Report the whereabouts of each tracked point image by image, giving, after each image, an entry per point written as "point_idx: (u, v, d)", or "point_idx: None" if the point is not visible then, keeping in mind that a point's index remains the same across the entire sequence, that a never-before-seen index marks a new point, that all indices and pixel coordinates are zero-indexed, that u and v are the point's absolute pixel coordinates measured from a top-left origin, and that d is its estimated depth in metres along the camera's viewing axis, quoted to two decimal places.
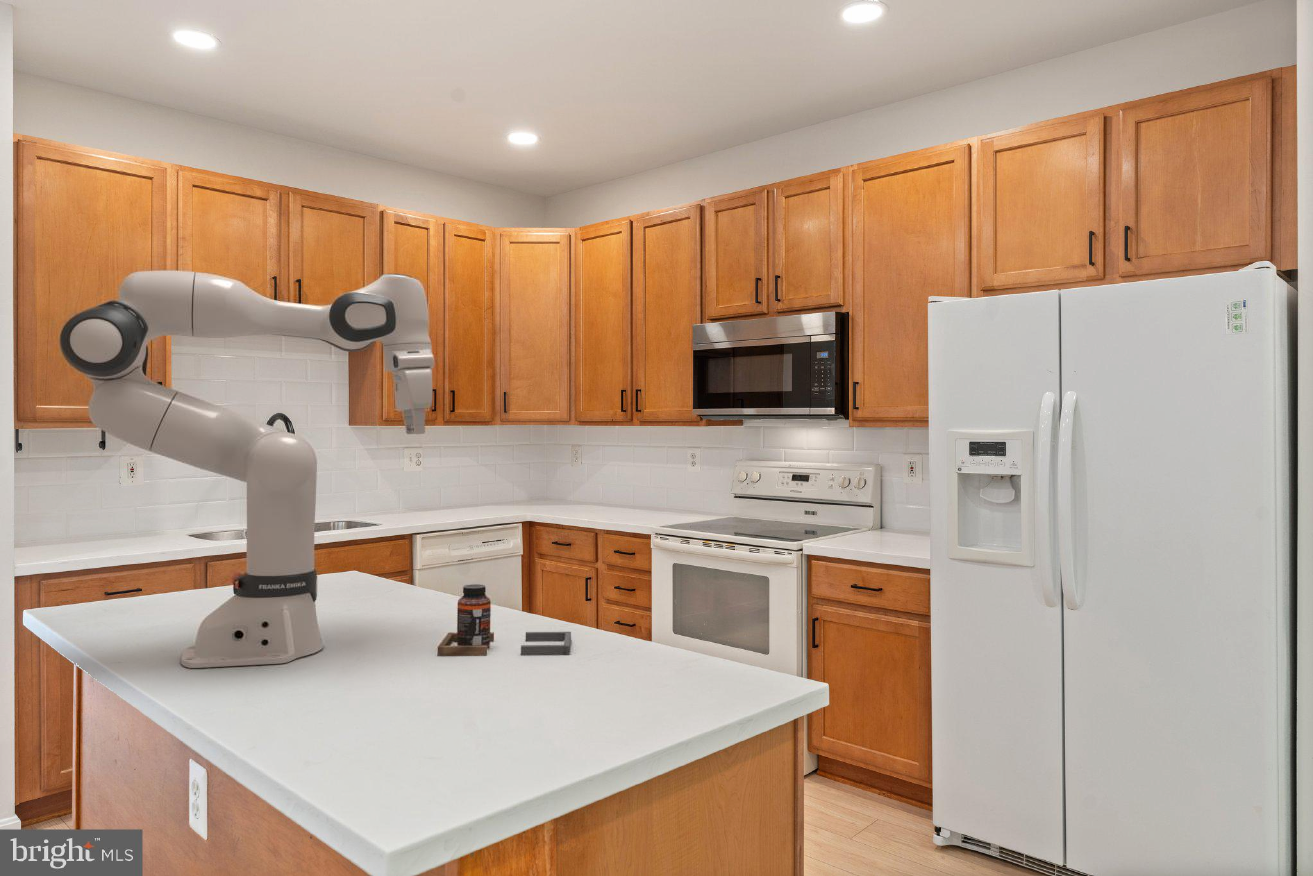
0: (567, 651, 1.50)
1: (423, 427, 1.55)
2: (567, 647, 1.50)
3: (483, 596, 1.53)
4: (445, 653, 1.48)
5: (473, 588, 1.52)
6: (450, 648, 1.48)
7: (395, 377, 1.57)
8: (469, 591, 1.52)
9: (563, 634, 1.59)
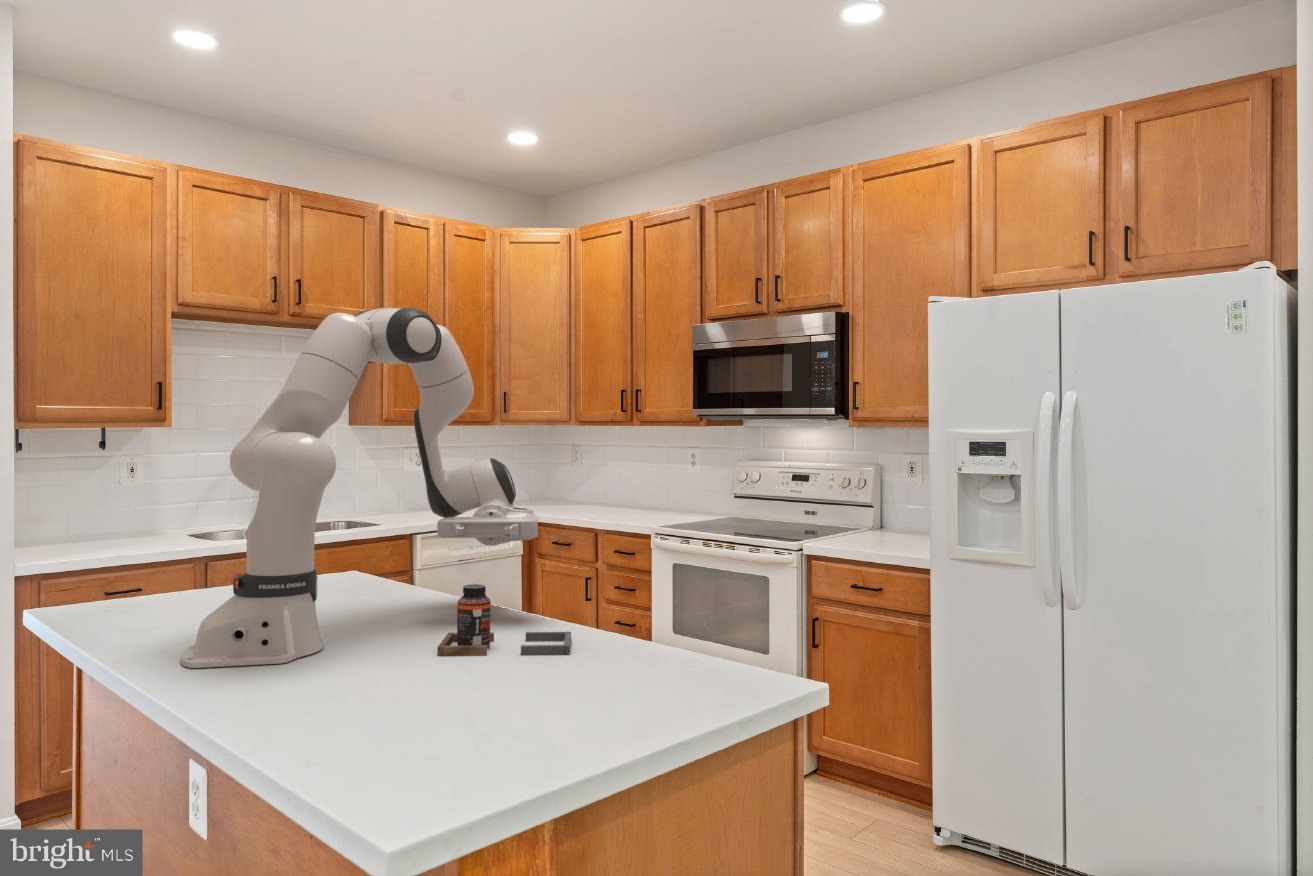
0: (567, 651, 1.50)
1: (512, 534, 1.67)
2: (567, 647, 1.50)
3: (483, 596, 1.53)
4: (445, 653, 1.48)
5: (473, 588, 1.52)
6: (450, 648, 1.48)
7: (496, 511, 1.77)
8: (469, 591, 1.52)
9: (563, 634, 1.59)
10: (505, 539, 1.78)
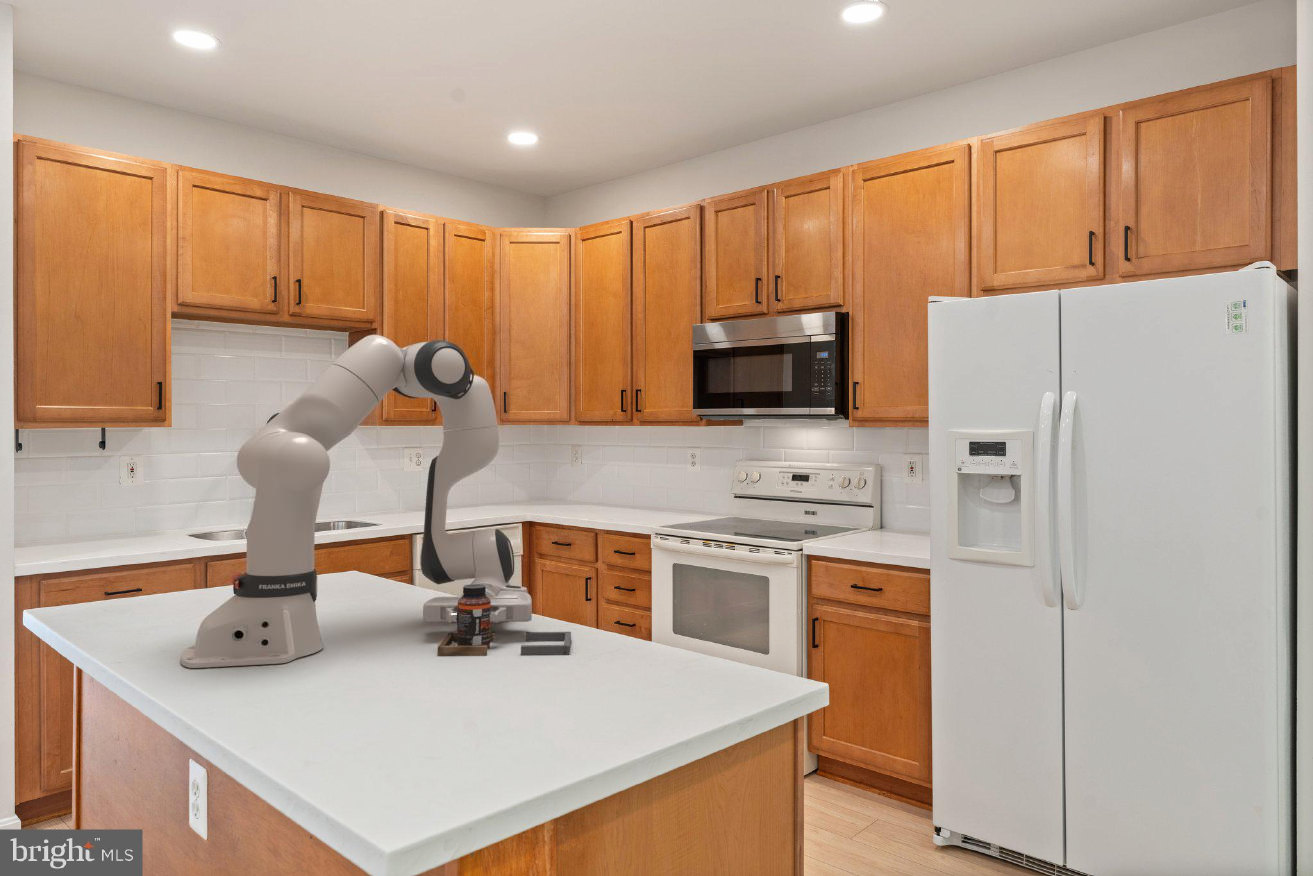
0: (567, 651, 1.50)
1: (498, 620, 1.54)
2: (567, 647, 1.50)
3: (483, 596, 1.53)
4: (445, 653, 1.48)
5: (473, 588, 1.52)
6: (450, 648, 1.48)
7: (488, 591, 1.64)
8: (469, 591, 1.52)
9: (563, 634, 1.59)
10: None
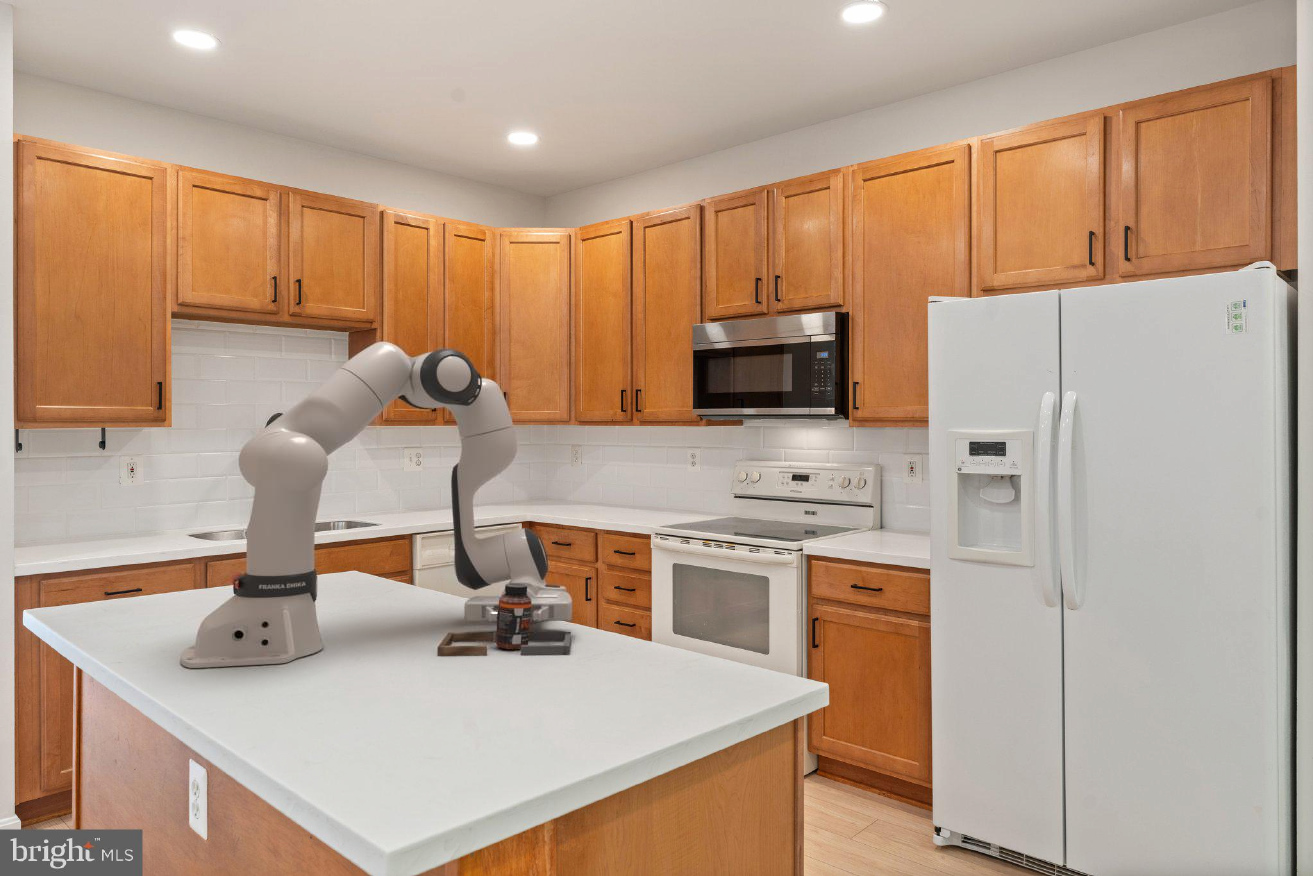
0: (567, 651, 1.50)
1: (541, 619, 1.55)
2: (567, 647, 1.50)
3: (525, 595, 1.53)
4: (445, 653, 1.48)
5: (516, 586, 1.52)
6: (450, 648, 1.48)
7: (527, 590, 1.64)
8: (511, 590, 1.52)
9: (563, 634, 1.59)
10: None
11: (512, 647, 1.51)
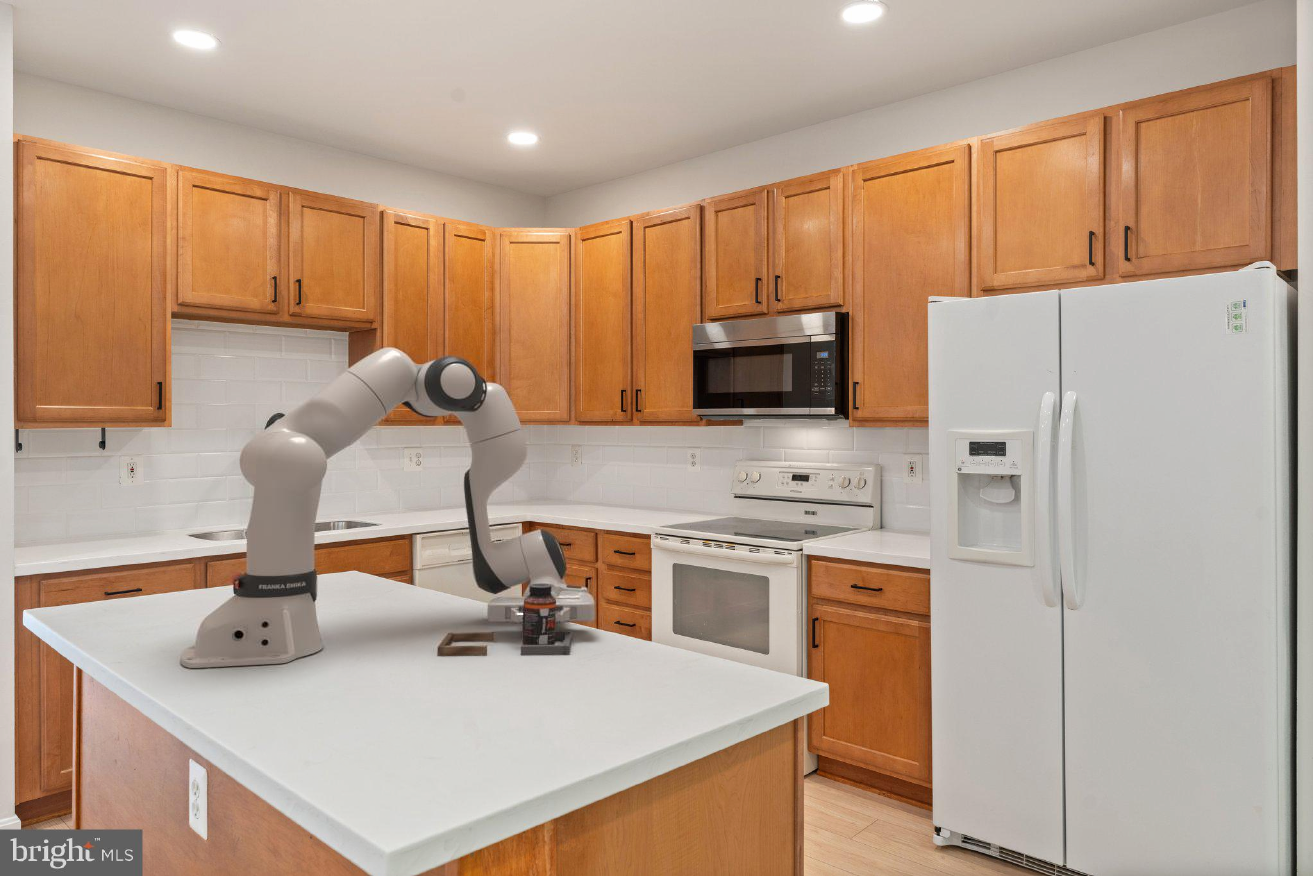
0: (567, 651, 1.50)
1: (563, 620, 1.55)
2: (567, 647, 1.50)
3: (549, 595, 1.54)
4: (445, 653, 1.48)
5: (540, 587, 1.53)
6: (450, 648, 1.48)
7: None
8: (536, 590, 1.53)
9: (563, 634, 1.59)
10: None
11: None
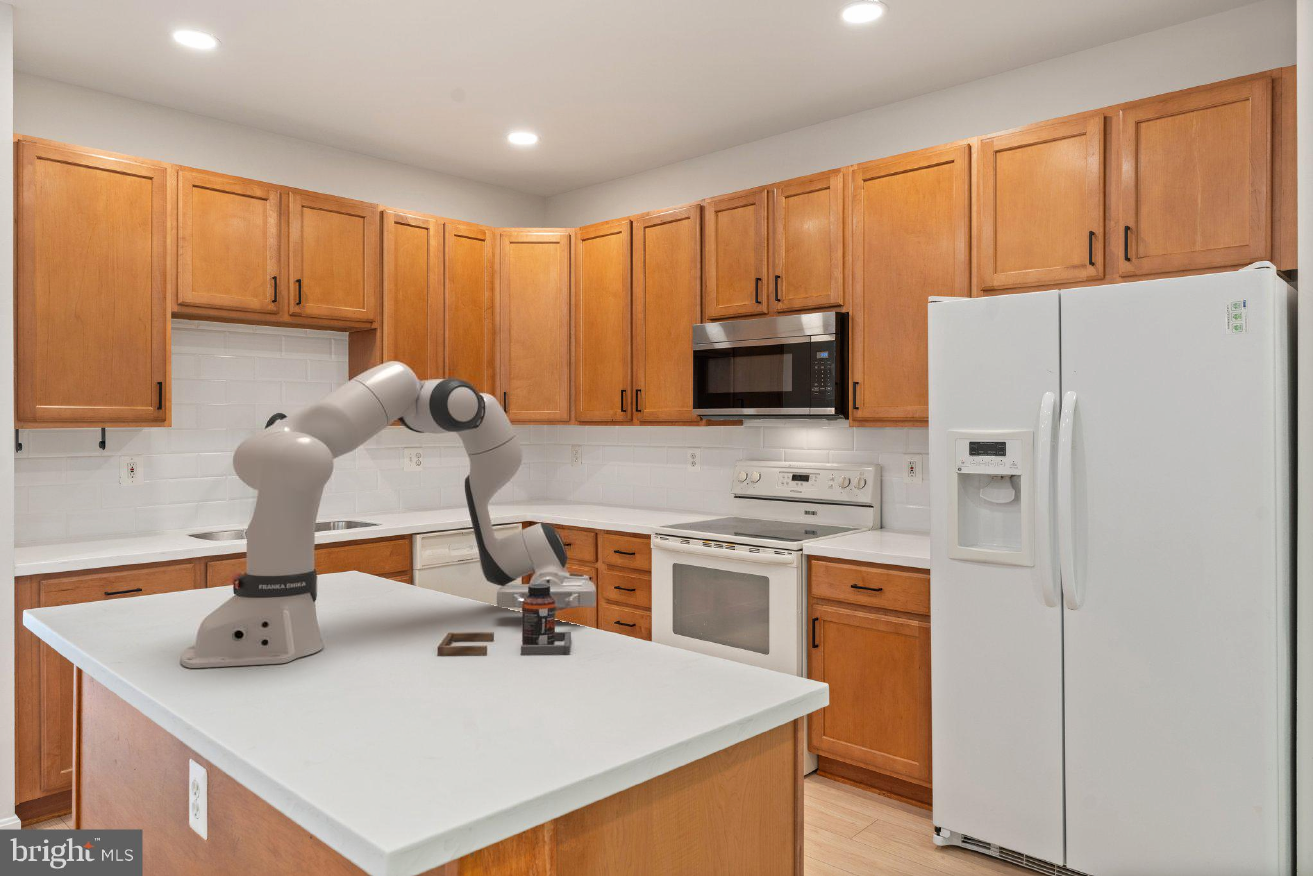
0: (567, 651, 1.50)
1: (572, 605, 1.68)
2: (567, 647, 1.50)
3: (548, 596, 1.54)
4: (445, 653, 1.48)
5: (539, 587, 1.53)
6: (450, 648, 1.48)
7: (554, 579, 1.77)
8: (534, 590, 1.53)
9: (563, 634, 1.59)
10: None
11: None
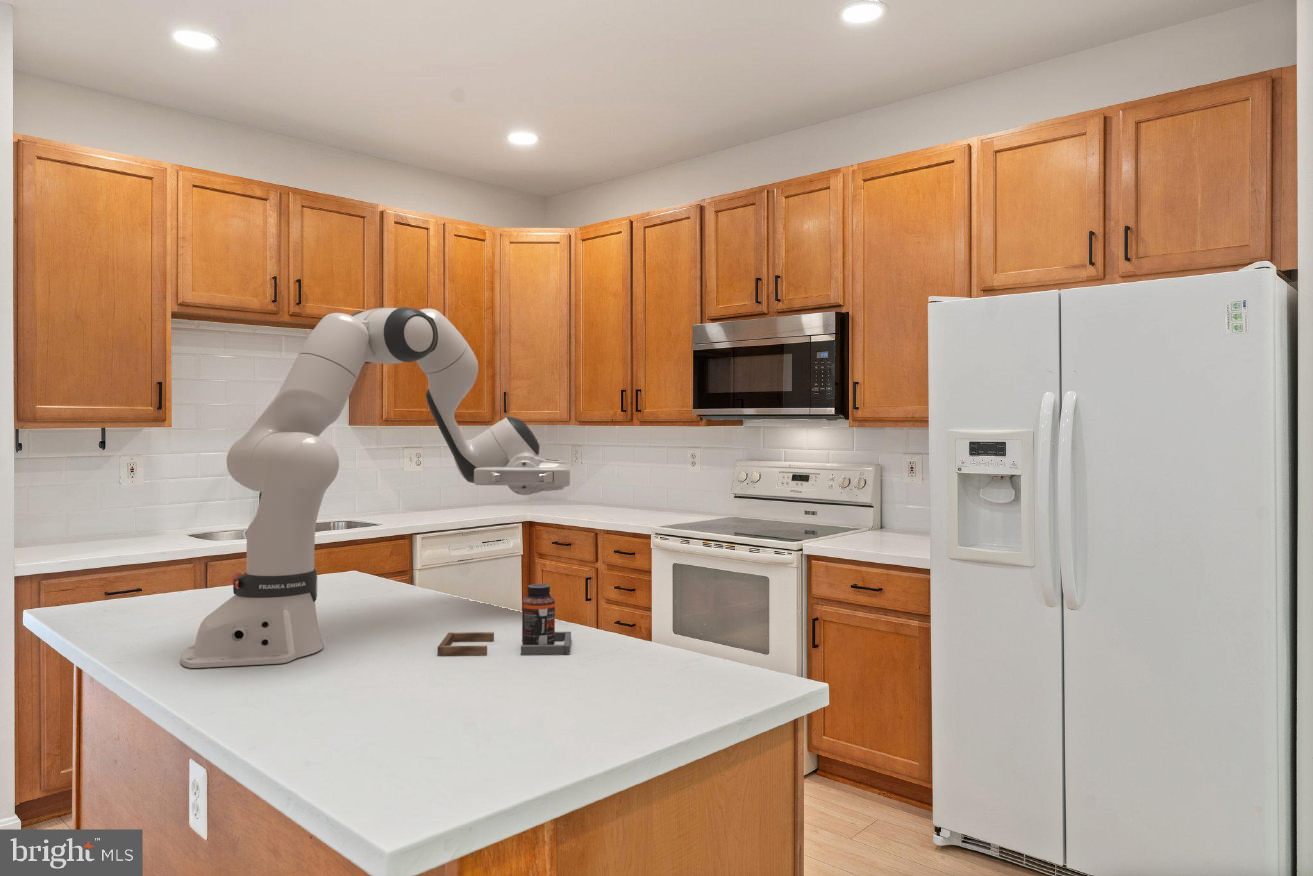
0: (567, 651, 1.50)
1: (546, 481, 1.74)
2: (567, 647, 1.50)
3: (548, 596, 1.54)
4: (445, 653, 1.48)
5: (538, 587, 1.53)
6: (450, 648, 1.48)
7: (530, 462, 1.84)
8: (534, 591, 1.53)
9: (563, 634, 1.59)
10: (537, 489, 1.85)
11: None
